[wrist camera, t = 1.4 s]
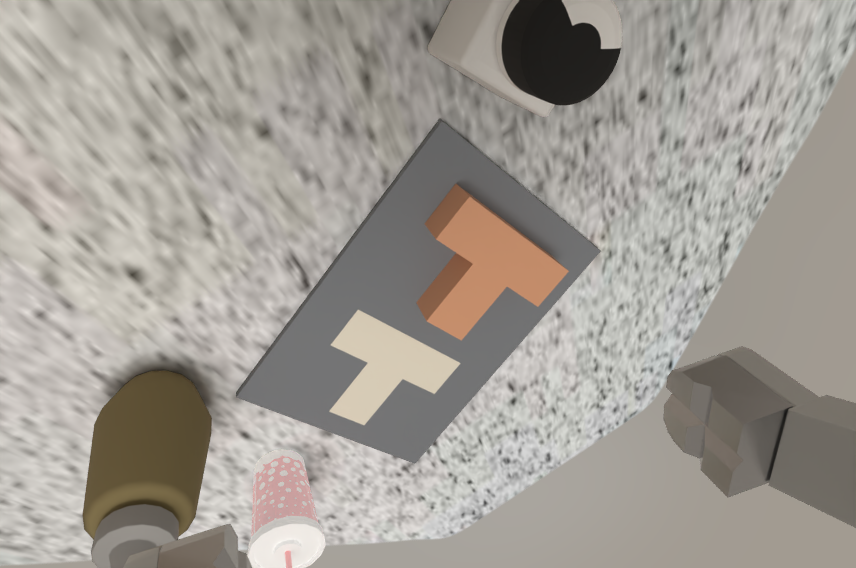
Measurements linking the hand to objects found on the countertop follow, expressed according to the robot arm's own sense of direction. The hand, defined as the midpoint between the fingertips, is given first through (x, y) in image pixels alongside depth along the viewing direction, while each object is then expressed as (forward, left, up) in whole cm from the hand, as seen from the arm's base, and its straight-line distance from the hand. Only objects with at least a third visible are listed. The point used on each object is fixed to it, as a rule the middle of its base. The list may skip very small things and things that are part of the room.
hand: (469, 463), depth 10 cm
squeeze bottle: (+26, +4, -33) cm, 42 cm away
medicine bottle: (-12, +8, -33) cm, 36 cm away
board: (+9, +19, -33) cm, 39 cm away
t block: (+3, +19, -32) cm, 38 cm away
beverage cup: (+29, +17, -33) cm, 47 cm away
